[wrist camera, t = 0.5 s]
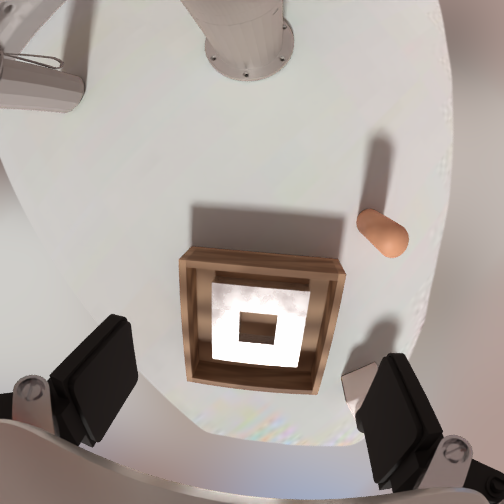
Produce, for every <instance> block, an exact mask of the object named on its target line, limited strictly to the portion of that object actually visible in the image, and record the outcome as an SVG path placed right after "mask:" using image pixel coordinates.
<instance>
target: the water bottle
mask: <svg viewBox="0 0 504 504" xmlns="http://www.w3.org/2000/svg"><path fill="white" fill-rule="evenodd" d="M4 55H5V56H9V57H13V58H17V59H20V60H24V61H28V62H31V63H35V64H38V65H41V66H37V65H33V64H29V63H24V62H19V61H15V60H9V59H4ZM12 55H23V56H34V57H43V58H51V59H54V60H56V61H58V62H59V63H60V67H58V68H56V67H53V66H49V65H46V64H42V63H39V62H35V61H32V60H28V59H24V58H20V57H16V56H12ZM0 56H1V58H0V109H23V110H38V111H49V112H59V113H67V112H70V111H72V110H73V109H74V108H75V107H76V106H77V105H78V104H79V103H80V101H81V98H82V96H83V94H84V83H83V81H82V79H81V77H78V76H75V75H72V74H68V73H65V72H61V71H57V70H54V69H59V68H61V67H63V63H64V62H63V61H61V60H60V59H58V58H55V57H49V56H40V55H30V54H16V53H5V52H3V51H1V50H0ZM42 66H45V67H42ZM46 67H48V68H46ZM50 68H52V69H50Z"/></svg>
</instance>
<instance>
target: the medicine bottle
mask: <svg viewBox="0 0 504 504" xmlns="http://www.w3.org/2000/svg"><path fill="white" fill-rule="evenodd" d="M377 370H378V367H377V365H376V363H375V362H374V363H372V364H369V365H367V366H365V367H363V368H360V369H358V370H356V371H353V372H351V373H349V374H346V375H344V376H342V377H341V381H342V386H343V390H344V395H345V400H346V403H347V405H348V407H349V409H350V411H351V413H352V415H353V417H354V419H355V420H356V424H357V429H358V430H359V431H360V432H362V433H364V430H363V426H362V421H361V417H360V408H361V405H362V403H363V401H364V399H365V397H366V395H367V393H368V390H369V388H370V386H371V384H372V382H373V379H374V377H375V375H376V373H377Z"/></svg>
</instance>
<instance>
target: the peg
mask: <svg viewBox="0 0 504 504" xmlns="http://www.w3.org/2000/svg"><path fill="white" fill-rule="evenodd" d="M357 228H358V230H359V231H360V232H361V233H362V234H363V235H364V236H365V237H366V238H367V239H368V240H369V241H370V242H371V243H372V244H373V245H374V246H375V247H376V248H377V249H378V250H379V251H380V252H381V253H382V254H383V255H384V256H386V257H389V258H395V257H398V256H400V255H401V254H402V253H403V252H404V251H405V250H406V248H407V246H408V242H409V237H408V233H407V231H406V229H405V228H404V227H403V226H401V225H399V224H398V223H396V222H395V221H393V220H391V219H389V218H388V217H386V216H384V215H383V214H381V213H379V212H377V211H376V210H373V209H366V210H364V211H362V212H361V213H360V214H359V216H358V218H357Z"/></svg>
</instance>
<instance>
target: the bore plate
mask: <svg viewBox="0 0 504 504" xmlns="http://www.w3.org/2000/svg"><path fill="white" fill-rule="evenodd" d="M309 297H310V287H309V284H298V283H286V282H274V281H263V280H252V279H242V278H231V277H221V276H215V278H214V279H213V281H212V358H213V359H220V360H227V361H235V362H244V363H253V364H263V365H275V366H288V367H297V365H298V360H299V354H300V349H301V344H302V338H303V333H304V327H305V321H306V316H307V310H308V303H309ZM241 312H251V313H261V314H272V315H277V321H276V329H275V336H264V335H254V334H245V333H241Z"/></svg>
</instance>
